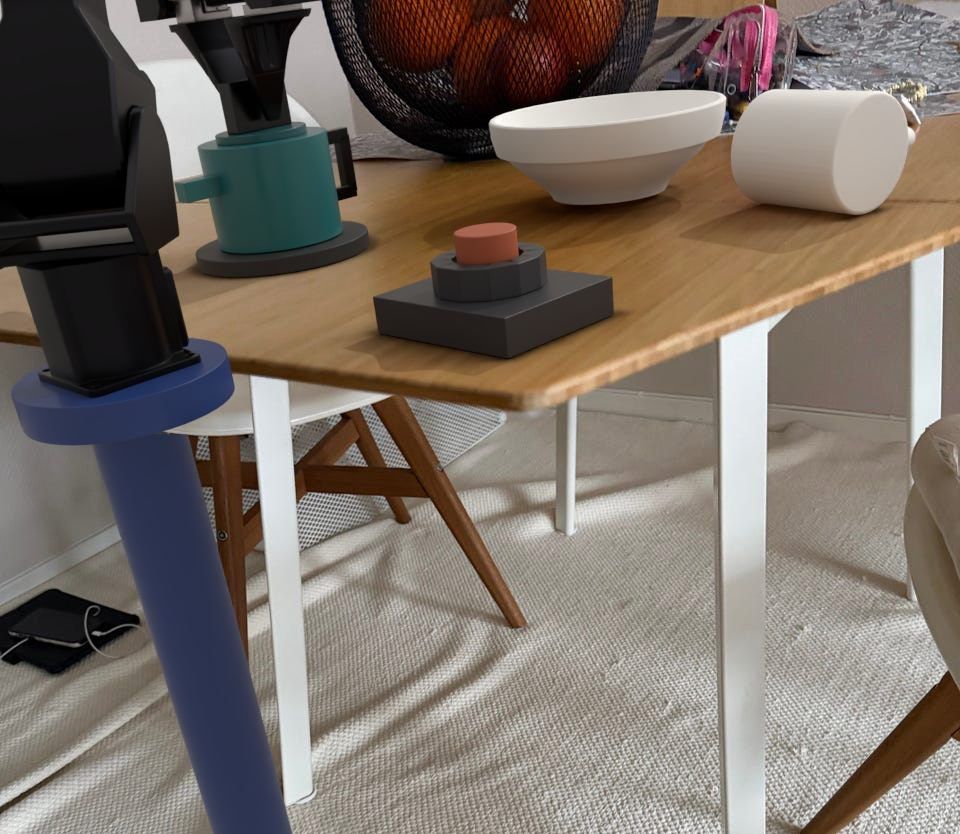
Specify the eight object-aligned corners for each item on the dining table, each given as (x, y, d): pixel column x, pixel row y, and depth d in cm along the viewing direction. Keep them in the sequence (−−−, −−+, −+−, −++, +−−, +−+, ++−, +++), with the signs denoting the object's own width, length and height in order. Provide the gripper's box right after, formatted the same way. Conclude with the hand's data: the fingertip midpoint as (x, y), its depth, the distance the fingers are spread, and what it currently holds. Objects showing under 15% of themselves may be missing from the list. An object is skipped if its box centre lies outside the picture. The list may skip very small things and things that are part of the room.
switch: (531, 256, 63) (529, 224, 62) (488, 271, 61) (484, 238, 60) (487, 251, 65) (484, 220, 64) (444, 265, 63) (440, 234, 62)
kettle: (233, 267, 80) (195, 93, 74) (164, 256, 87) (123, 95, 81) (396, 220, 89) (374, 61, 83) (322, 213, 96) (297, 65, 90)
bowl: (701, 219, 83) (701, 116, 79) (464, 228, 90) (453, 134, 86) (742, 171, 98) (743, 83, 95) (536, 182, 105) (530, 100, 101)
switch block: (614, 314, 64) (611, 243, 62) (508, 359, 59) (501, 283, 57) (482, 295, 71) (476, 231, 69) (378, 333, 66) (367, 265, 64)
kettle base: (263, 284, 80) (260, 268, 80) (166, 268, 89) (162, 253, 89) (405, 241, 88) (403, 225, 88) (302, 230, 97) (299, 215, 97)
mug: (827, 225, 77) (834, 100, 73) (728, 211, 85) (729, 97, 80) (940, 193, 82) (953, 74, 78) (837, 182, 89) (844, 74, 85)
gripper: (385, -152, 74) (416, 102, 82) (232, -114, 86) (273, 105, 94) (250, -147, 68) (298, 127, 76) (106, -106, 80) (161, 127, 88)
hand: (258, 120), depth 84 cm, fingers open, 4 cm apart
